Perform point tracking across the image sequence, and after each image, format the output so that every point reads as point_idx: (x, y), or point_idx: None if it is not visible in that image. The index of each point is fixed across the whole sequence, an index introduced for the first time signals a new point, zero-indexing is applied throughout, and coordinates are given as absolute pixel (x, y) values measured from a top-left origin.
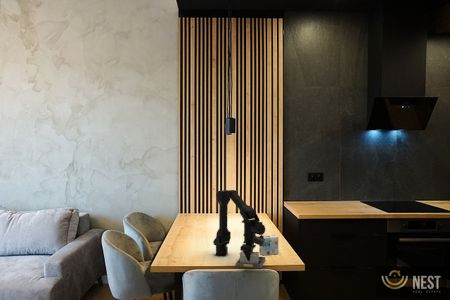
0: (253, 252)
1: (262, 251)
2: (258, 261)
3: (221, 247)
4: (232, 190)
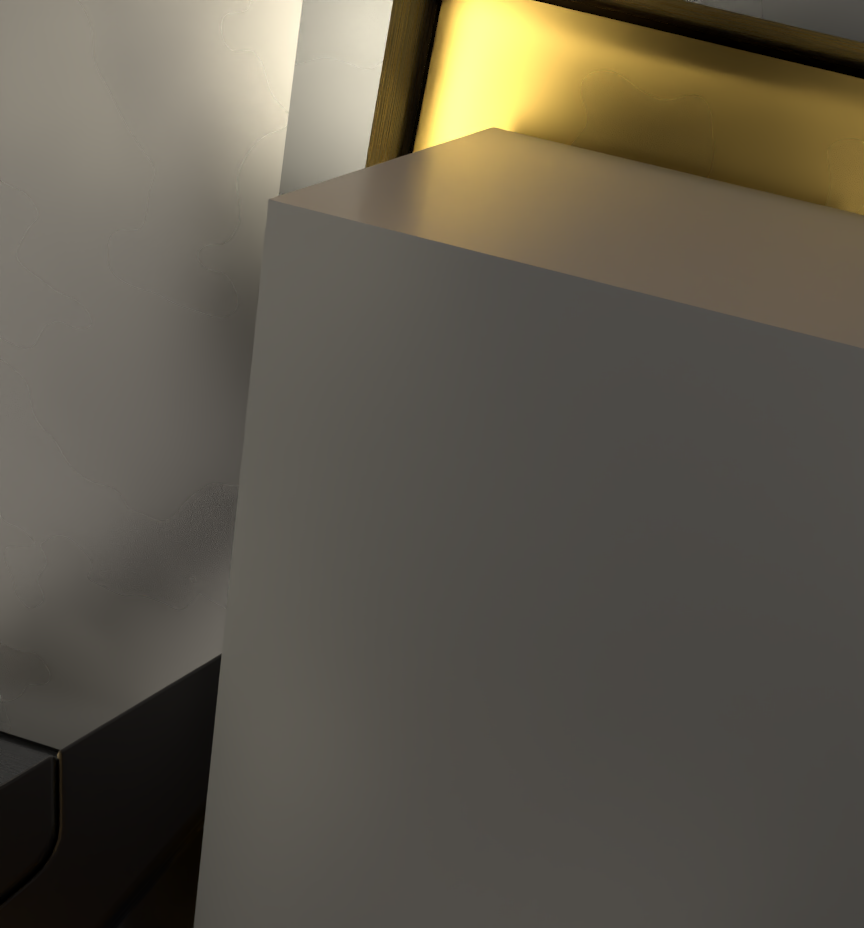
0: (491, 880)
1: None
2: (656, 176)
3: None
4: None
